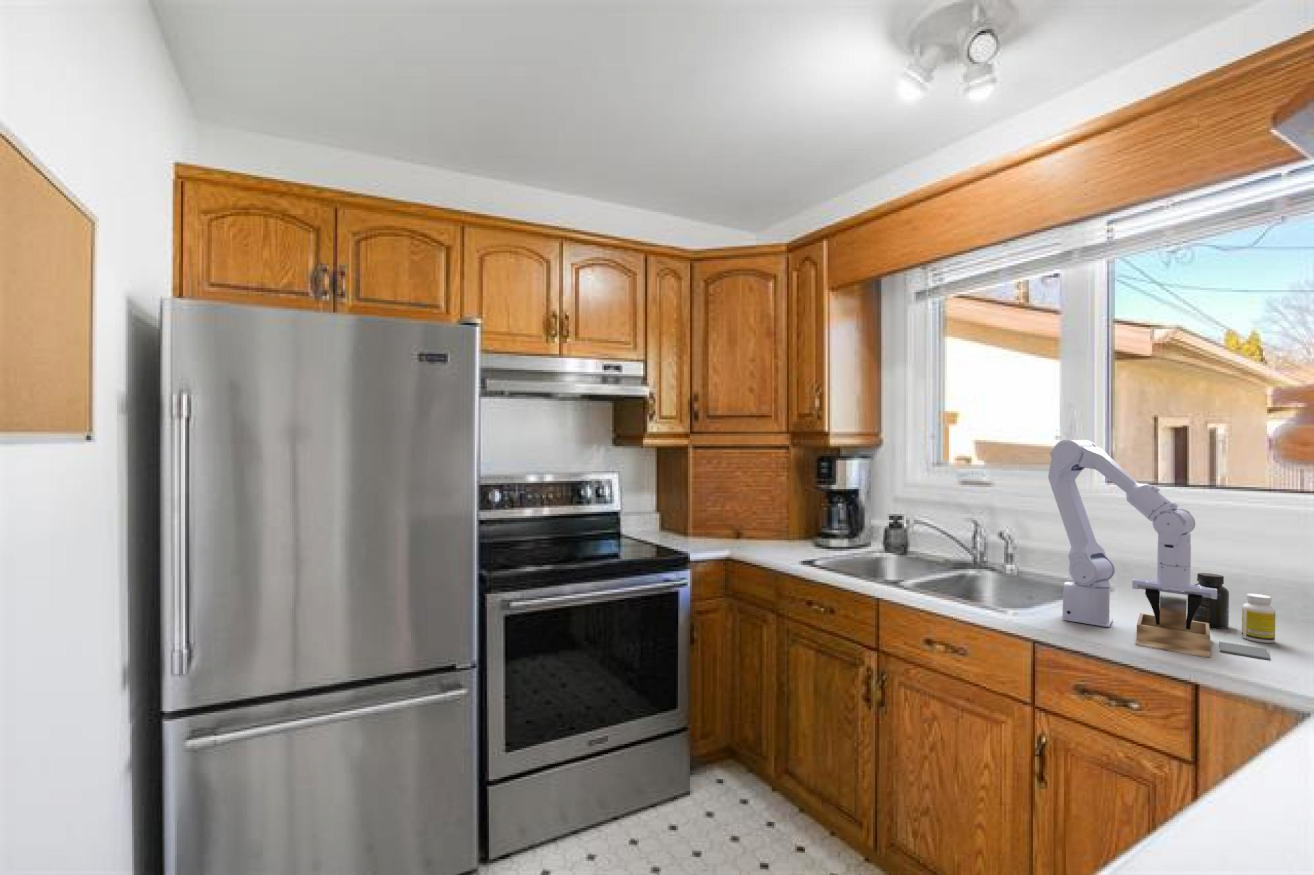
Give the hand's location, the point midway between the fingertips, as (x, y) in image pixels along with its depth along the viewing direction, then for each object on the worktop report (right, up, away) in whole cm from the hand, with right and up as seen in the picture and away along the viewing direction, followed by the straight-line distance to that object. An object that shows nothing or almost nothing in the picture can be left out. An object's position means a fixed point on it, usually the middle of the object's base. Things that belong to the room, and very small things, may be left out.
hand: (1172, 626), depth 142 cm
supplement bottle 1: (+18, -3, +12) cm, 22 cm away
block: (0, -3, 0) cm, 3 cm away
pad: (+9, -3, -7) cm, 12 cm away
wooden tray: (0, -3, 0) cm, 3 cm away
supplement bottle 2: (+19, -4, +1) cm, 20 cm away
